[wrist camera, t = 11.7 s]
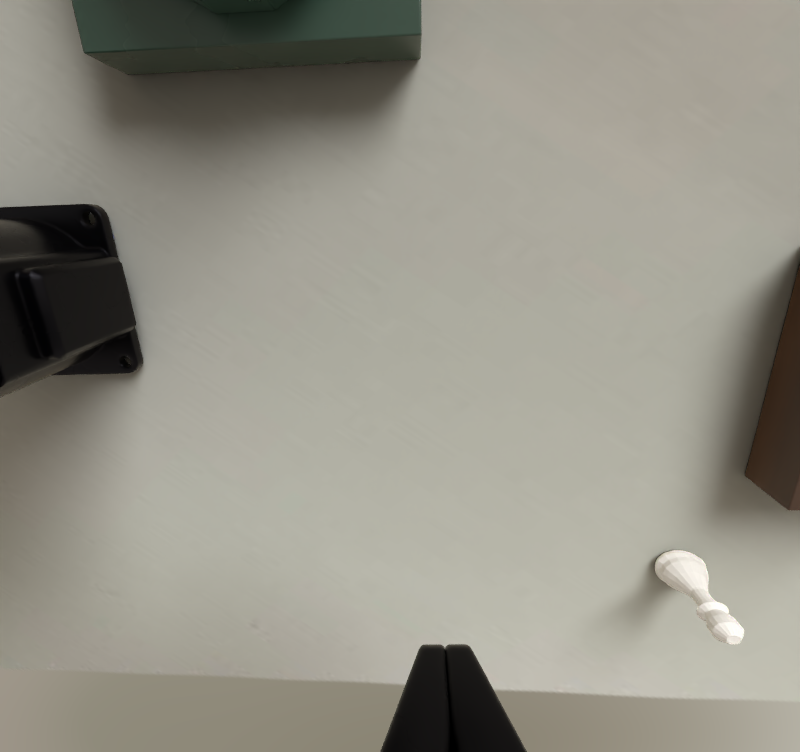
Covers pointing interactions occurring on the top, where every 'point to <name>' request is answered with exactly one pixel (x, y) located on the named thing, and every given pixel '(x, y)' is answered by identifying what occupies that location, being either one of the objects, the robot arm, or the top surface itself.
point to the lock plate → (781, 418)
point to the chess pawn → (698, 592)
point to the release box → (246, 33)
